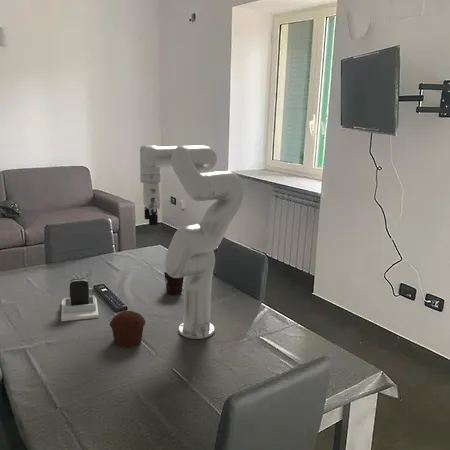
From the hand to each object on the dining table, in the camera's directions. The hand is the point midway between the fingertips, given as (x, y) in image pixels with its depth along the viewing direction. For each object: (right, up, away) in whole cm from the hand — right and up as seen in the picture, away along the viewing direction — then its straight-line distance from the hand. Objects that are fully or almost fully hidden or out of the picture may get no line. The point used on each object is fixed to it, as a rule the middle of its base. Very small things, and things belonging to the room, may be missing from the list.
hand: (150, 222), depth 178 cm
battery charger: (-27, -33, -3) cm, 42 cm away
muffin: (-4, -40, -24) cm, 47 cm away
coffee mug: (+7, -30, +18) cm, 36 cm away
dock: (-28, -32, +2) cm, 43 cm away
